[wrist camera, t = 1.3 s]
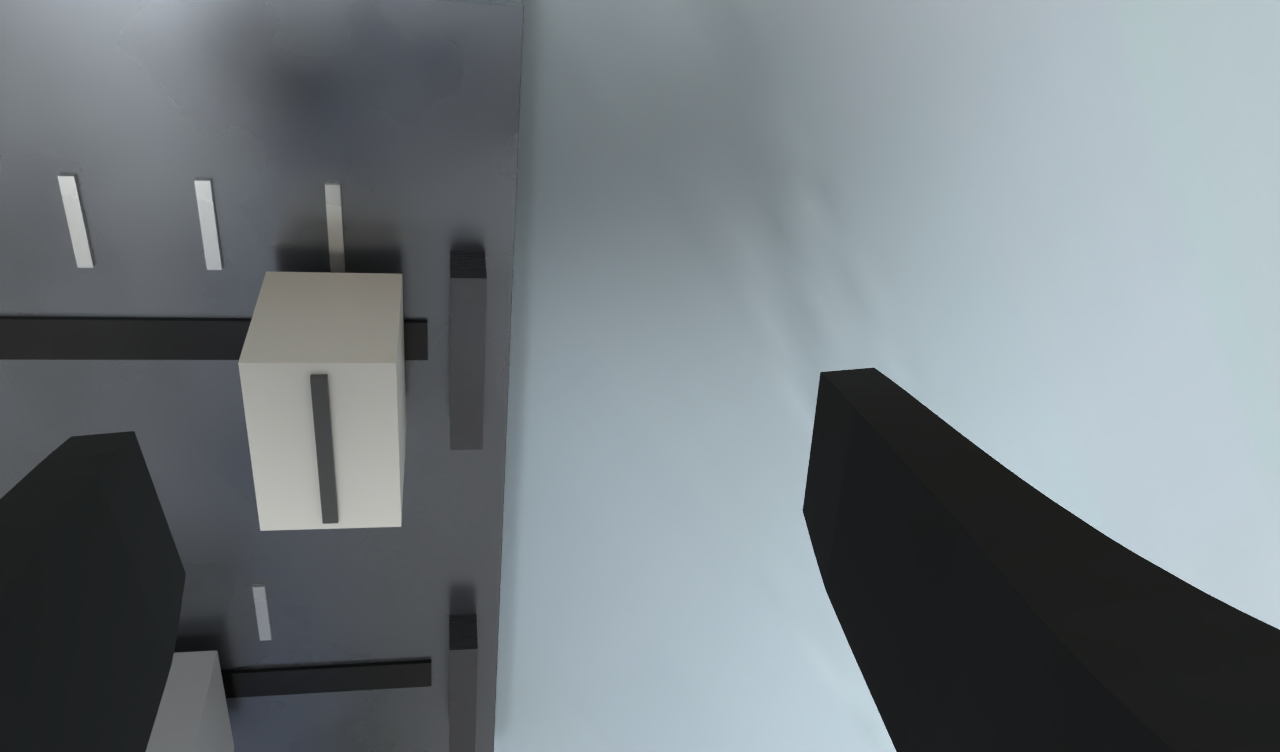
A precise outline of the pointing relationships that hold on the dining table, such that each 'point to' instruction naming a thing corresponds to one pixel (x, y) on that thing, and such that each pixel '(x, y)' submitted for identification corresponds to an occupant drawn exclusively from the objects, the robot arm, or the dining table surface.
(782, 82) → the dining table surface
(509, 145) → the console
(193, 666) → the fader
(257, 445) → the fader tab
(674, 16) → the dining table surface
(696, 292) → the dining table surface
